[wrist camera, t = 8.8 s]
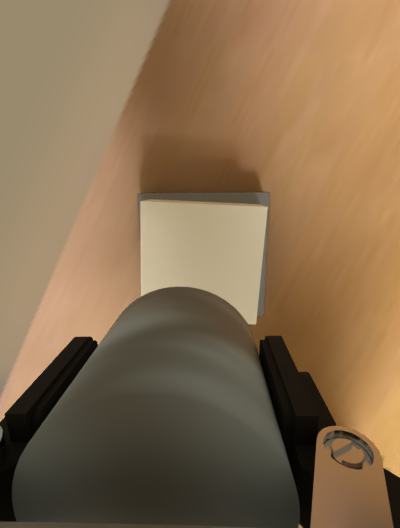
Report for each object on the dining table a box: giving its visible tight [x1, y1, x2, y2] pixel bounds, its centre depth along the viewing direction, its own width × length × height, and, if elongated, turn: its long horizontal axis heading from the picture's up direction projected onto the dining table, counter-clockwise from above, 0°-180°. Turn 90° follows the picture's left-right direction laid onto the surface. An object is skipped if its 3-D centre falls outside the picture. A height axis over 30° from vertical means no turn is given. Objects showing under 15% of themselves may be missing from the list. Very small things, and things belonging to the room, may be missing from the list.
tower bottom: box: [138, 192, 270, 316], centre depth 30 cm, size 12×12×4 cm
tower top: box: [140, 199, 268, 325], centre depth 26 cm, size 10×10×4 cm
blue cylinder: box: [12, 286, 300, 528], centre depth 9 cm, size 6×6×6 cm
